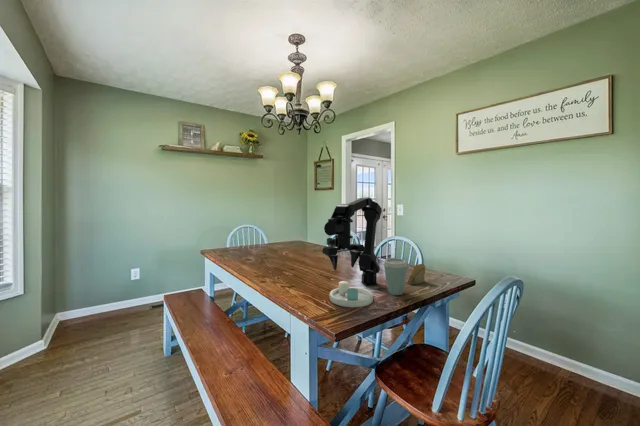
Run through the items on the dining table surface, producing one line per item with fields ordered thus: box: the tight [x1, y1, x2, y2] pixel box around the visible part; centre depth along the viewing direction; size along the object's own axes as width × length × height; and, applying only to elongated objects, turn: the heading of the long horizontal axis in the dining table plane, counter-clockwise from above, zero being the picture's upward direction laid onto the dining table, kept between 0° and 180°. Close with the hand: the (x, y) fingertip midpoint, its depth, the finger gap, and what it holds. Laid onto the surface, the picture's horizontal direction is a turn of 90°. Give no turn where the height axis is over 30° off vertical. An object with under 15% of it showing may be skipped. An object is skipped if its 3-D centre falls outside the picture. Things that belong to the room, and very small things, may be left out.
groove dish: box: [329, 286, 374, 308], centre depth 121 cm, size 18×18×2 cm
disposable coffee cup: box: [382, 257, 408, 296], centre depth 129 cm, size 11×11×15 cm
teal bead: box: [347, 288, 358, 301], centre depth 116 cm, size 4×4×5 cm
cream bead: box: [338, 280, 350, 295], centre depth 126 cm, size 4×4×5 cm
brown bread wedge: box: [407, 263, 426, 286], centre depth 144 cm, size 11×9×10 cm
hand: (343, 268), depth 125 cm, fingers open, 9 cm apart
